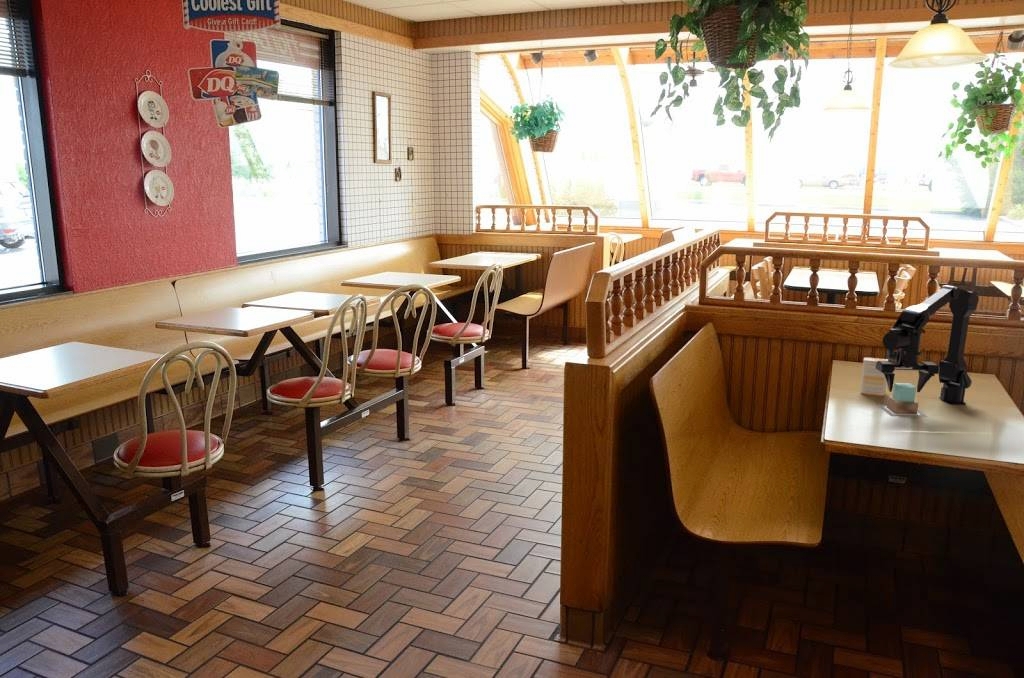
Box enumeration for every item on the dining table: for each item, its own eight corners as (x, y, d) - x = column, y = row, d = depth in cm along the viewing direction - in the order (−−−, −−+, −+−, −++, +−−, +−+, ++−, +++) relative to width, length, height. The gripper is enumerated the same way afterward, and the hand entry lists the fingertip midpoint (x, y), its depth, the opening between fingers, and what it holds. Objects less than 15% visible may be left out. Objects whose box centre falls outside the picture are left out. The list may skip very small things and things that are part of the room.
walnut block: (907, 407, 271) (909, 396, 271) (916, 414, 265) (918, 402, 264) (886, 407, 272) (888, 395, 271) (895, 413, 265) (897, 402, 264)
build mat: (911, 406, 274) (911, 405, 274) (927, 417, 262) (928, 416, 262) (876, 405, 274) (876, 404, 274) (890, 417, 263) (891, 415, 263)
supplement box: (884, 394, 288) (888, 359, 285) (884, 397, 284) (888, 362, 281) (860, 391, 292) (863, 356, 289) (859, 394, 287) (863, 359, 284)
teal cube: (907, 397, 270) (909, 383, 268) (914, 401, 265) (916, 387, 264) (892, 397, 270) (894, 382, 269) (898, 401, 265) (900, 387, 264)
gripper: (927, 341, 271) (921, 385, 274) (871, 340, 271) (866, 384, 275) (943, 349, 260) (936, 395, 263) (885, 348, 261) (879, 393, 264)
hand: (904, 391), depth 267 cm, fingers open, 9 cm apart
